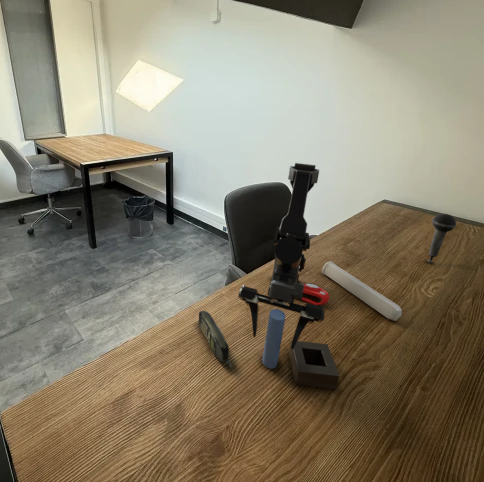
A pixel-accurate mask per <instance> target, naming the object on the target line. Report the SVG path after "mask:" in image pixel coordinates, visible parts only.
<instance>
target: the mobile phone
mask: <svg viewBox="0 0 484 482" xmlns="http://www.w3.org/2000/svg"><path fill="white" fill-rule="evenodd" d="M198 327H199V328H200V330H201V332H202V334H203V336H204V337H205V339H206V340H207V342H208V345H209V347H210V350H211V352H212V353H213V355H214V356H215V357H216V358H217V359H218V360H219V362H225V363H226V364H227V365H228V367H229V368H230V369H231V368H232V367H233V365H232V363H231V362H230V361H229V356H230V347H229V344H228V342H227V341H226V338H225V335H224V333H223V332H222V330H221V328H220V327H219V325H218V324H217V323H216V321H215V319H214V318H213V317H212V315H211V313H210V312H208V311H206V310H201V311H200V310H199V312H198Z"/></svg>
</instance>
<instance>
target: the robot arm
mask: <svg viewBox="0 0 484 482" xmlns="http://www.w3.org/2000/svg"><path fill="white" fill-rule="evenodd" d="M288 169H289V170H288V175H287V176H288V177H287V180H289V183H290V186H291V188H292V191H291V196H290V201H289V207H288V212H287V214H286V215H285V216H284V217H283V218H281V222H280V226H277V227H276V230H275V231H276V232H275V235H274V239H273V245H274V246H275V247H274V264H273V270H272V273H271V274H272V275H271V280H270V283H269V286H268V290H267V295H266V294H261V293H259V291H258V289H257V288H253V287H249V286H247V285H242V286H241V287H240V288H239V291H238V295H237V297H238V298H239V300H240V301H243V302H244V303H245V306H247V307H249V310H250V314H251V322H252V323H251V325H252V336H253V338H256V337H257V332H258V323H259V312H260V306H259V303H260V304H261V303H262V304H265V305H268V306H272V307H276V308H280V309H283V310H286V311H291V312H294V313H297V314H299V317H298V320H297V324H296V326H295V329H294V334H293V337H292V345H291V349H292V350H293V348H294V346H295V344H296V342H297V341H299V338H300V336H301V335H302V332H303V331H304V329H305V328H306V327H307V325H308V324H310V325H313V324H314V322H317V323H322V322H324V320H325V309H324V307H323V306H322V305H314V304H311V303H309V302H305V304H304V305H303V304H299V303H295V300H299V301H303V300H302V297H303V295H304V293H303V289H304V284H305V283H301V282H300V280H299V278H300V273H302V271H304V270H305V265H306V261H307V259H306V258H305V254H304V253H303V252H307V251H308V250H310V247H311V237H310V234H309V232H307V228H308V223H307V221H306V219H305V211H306V204H307V198H308V194H309V192H310V191H311V190H312V189H313V188H314V186H315V184H317V183H318V181H319V175H320V169H318V168H316V164H310V163H309V164H308V163H299V162H295V163H294V165H291V166H289V168H288ZM299 272H300V273H299Z"/></svg>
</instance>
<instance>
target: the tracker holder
mask: <svg viewBox="0 0 484 482" xmlns="http://www.w3.org/2000/svg"><path fill="white" fill-rule="evenodd" d="M303 284H304V289H303V294H307V295H310V296H314V297H316V298H318V299H320V300H321V301H320V302H318V301H316V300H313V299H310V298H308V297H305V296H302V300H301V301H304V302H305V303H310V304H314V305H317V306H324V305H326V304H328V303H329V300H330V294H329V293H328V292H327V291H326V290H325V289H323V288H321V287H320V286H319V285H317V284H313V283H303Z"/></svg>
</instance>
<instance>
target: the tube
mask: <svg viewBox="0 0 484 482" xmlns="http://www.w3.org/2000/svg"><path fill="white" fill-rule="evenodd" d="M321 274H323V275H324V276H327V277H328V278H330V279H331V280H332V281H334V282H335V283H337V284H338V285H340V286H341V287H342V288H344V289H345V290H346V291H348V292H350V294H352V295H353V296H355V297H356V298H358V299H359V300H361V301H362V302H364V303H365V304H367V305H368V306H369V307H371V308H372V309H373V310H375V311H377V312H378V313H379V314H381V315H382V316H383V317H385V318H386V319H387V320H389V321H393V322H396V321H397V320H399V318H401V317H402V315H403V310H402V308H401V306H400V305H399V304H397V303H395V302H394V301H392V300H391V299H389V298H388V297H386V296H384V295H383V294H381V293H380V292H378V291H377V290H375V289H374V288H372V287H371V286H369V285H368V284H367V283H364V282H363V281H361V280H360V279H358V278H356V277H355V276H353V275H352V274H350V273H349V272H347V271H346V270H344V269H343V268H341V267H340V266H338V265H337V264H335V263H334V262H333V261H332V260H330V261H327V262H325V263H324V265H323V267H322V269H321Z"/></svg>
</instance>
